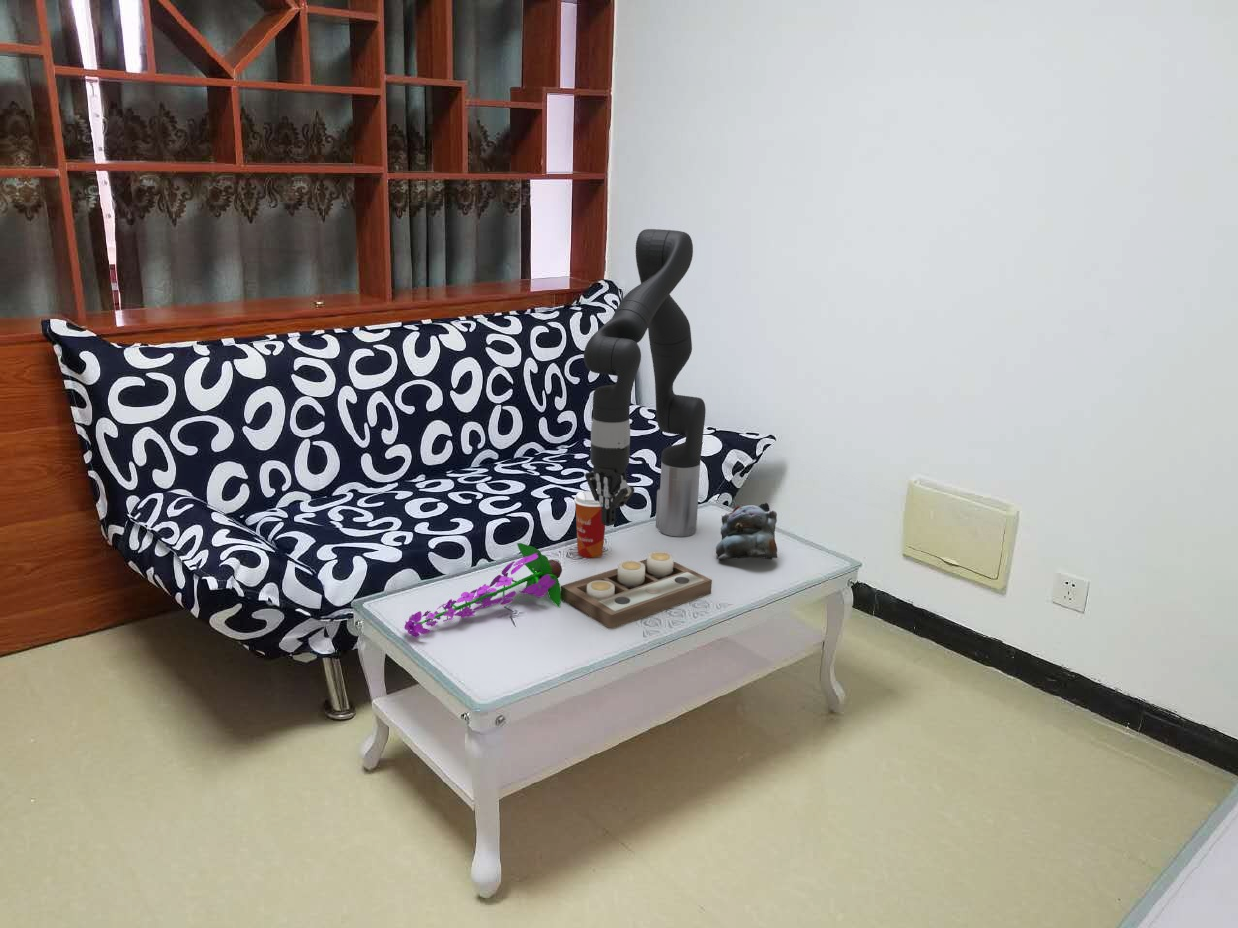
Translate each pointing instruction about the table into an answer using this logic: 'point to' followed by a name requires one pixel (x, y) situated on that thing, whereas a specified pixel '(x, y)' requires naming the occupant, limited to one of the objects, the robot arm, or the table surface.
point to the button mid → (631, 572)
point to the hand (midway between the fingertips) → (608, 524)
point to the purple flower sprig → (535, 585)
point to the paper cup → (589, 525)
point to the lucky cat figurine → (748, 533)
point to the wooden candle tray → (636, 595)
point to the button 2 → (660, 563)
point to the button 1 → (600, 589)
